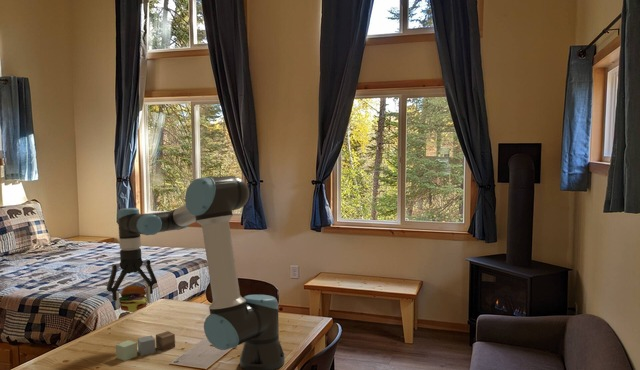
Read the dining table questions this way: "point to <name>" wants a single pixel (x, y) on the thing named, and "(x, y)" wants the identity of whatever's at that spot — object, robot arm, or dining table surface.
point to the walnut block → (165, 340)
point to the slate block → (146, 345)
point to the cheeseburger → (133, 298)
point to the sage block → (126, 350)
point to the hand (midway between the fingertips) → (133, 305)
